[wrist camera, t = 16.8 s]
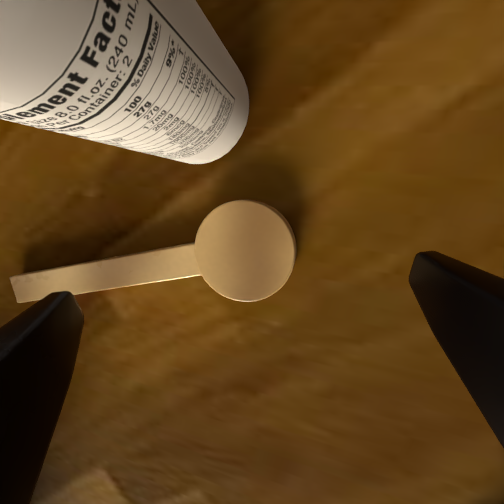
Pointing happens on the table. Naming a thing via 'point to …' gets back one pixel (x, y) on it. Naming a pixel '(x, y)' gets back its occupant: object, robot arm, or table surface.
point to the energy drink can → (122, 75)
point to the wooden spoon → (190, 259)
